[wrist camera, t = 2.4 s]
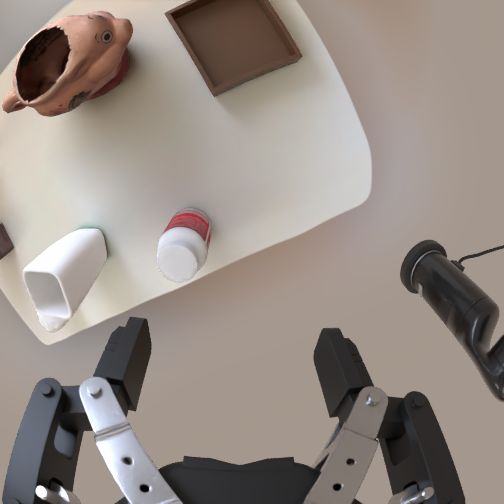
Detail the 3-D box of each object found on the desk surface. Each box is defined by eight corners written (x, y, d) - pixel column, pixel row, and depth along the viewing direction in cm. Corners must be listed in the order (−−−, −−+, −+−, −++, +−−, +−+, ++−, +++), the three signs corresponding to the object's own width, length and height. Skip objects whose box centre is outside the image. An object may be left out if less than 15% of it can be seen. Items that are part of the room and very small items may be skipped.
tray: (297, 61, 29) (302, 56, 26) (214, 96, 31) (212, 94, 28) (250, -13, 23) (251, -23, 20) (169, 20, 25) (164, 13, 22)
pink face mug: (57, 142, 31) (-3, 159, 18) (37, 84, 26) (-22, 84, 13) (165, 70, 28) (127, 45, 16) (138, 10, 23) (98, -28, 11)
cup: (71, 223, 37) (18, 268, 24) (107, 222, 37) (57, 270, 24) (80, 262, 40) (36, 314, 27) (114, 263, 41) (75, 321, 27)
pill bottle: (165, 212, 37) (142, 245, 28) (205, 202, 37) (194, 232, 27) (178, 250, 40) (161, 292, 30) (216, 241, 40) (211, 282, 30)
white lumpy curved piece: (46, 340, 37) (10, 287, 33) (66, 316, 45) (35, 267, 41) (62, 332, 36) (23, 275, 32) (83, 307, 44) (50, 255, 40)
